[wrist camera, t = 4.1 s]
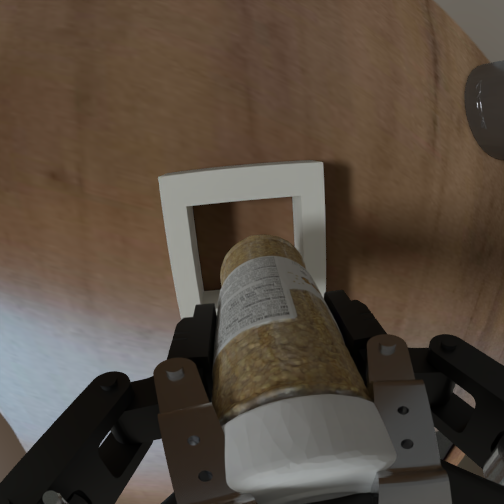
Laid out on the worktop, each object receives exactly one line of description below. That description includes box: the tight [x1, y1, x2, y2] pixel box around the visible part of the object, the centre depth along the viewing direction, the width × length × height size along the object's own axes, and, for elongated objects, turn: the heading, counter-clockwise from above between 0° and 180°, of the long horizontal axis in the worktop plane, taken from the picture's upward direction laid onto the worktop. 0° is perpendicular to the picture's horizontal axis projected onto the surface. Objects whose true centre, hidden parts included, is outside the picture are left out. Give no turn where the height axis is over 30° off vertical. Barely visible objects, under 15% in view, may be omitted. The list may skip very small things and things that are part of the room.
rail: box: [158, 160, 326, 320], centre depth 26 cm, size 10×37×3 cm, turn 5°
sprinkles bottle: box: [212, 235, 397, 504], centre depth 11 cm, size 5×5×14 cm
